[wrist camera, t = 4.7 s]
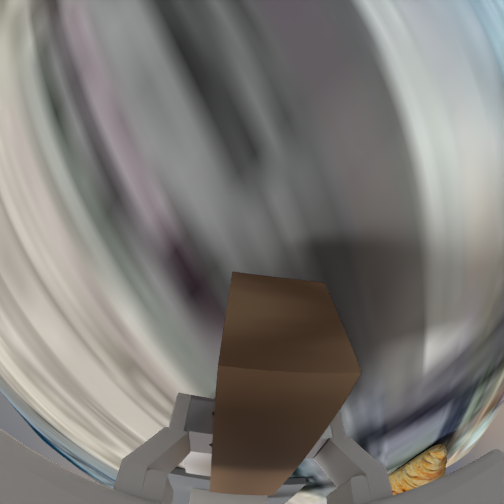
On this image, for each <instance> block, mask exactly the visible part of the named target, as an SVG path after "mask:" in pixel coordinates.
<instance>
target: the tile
mask: <svg viewBox="0 0 504 504" xmlns="http://www.w3.org/2000/svg"><path fill="white" fill-rule="evenodd" d="M189 504H268V495H238V494H225V493H215V492H210V491H209V490H202V489H196V488H191V493H190V500H189Z"/></svg>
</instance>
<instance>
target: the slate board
mask: <svg viewBox="0 0 504 504" xmlns="http://www.w3.org/2000/svg"><path fill="white" fill-rule="evenodd" d="M167 477H168V479H169V481H170V484H171V486H172V488H173V491H174V494H173V501H172V504H189V500H190V493H191V488H196V489H202V490H209V491H210V476H203V475H196V474H190V473H186V470H185V469H180V468H174V469H173V470H172V471H171V472H170V473H169V474H168V475H167ZM305 485H306V478H288V479H287V480H286V481H285V482H284V483H283V485H282V486H281V487H280V488H279V489H278V490H277V491H276V492H275V493H274V494H273V495H268V504H284V503H285V502H286V501H287V500H289V499H290V498H291V497H292V496H293V495H295V494H296V493H297V492H298V491H299V490H300V489H301V488H302V487H304V486H305Z"/></svg>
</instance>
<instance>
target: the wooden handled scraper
mask: <svg viewBox="0 0 504 504" xmlns="http://www.w3.org/2000/svg"><path fill="white" fill-rule="evenodd" d="M361 373H362V372H361V369H360V366H359V364H358V361H357V359H356V356H355V354H354V351H353V349H352V346H351V344H350V341H349V339H348V336H347V334H346V332H345V329H344V327H343V324H342V322H341V320H340V317H339V315H338V313H337V310H336V308H335V306H334V303H333V301H332V299H331V297H330V294H329V292H328V290H327V288H326V285H325V283H323V282H314V281H305V280H296V279H288V278H279V277H271V276H263V275H254V274H246V273H239V272H232V278H231V284H230V291H229V297H228V303H227V310H226V316H225V323H224V329H223V336H222V342H221V349H220V356H219V363H218V372H217V385H216V398H215V411H214V425H213V441H212V454H207V453H199V452H192V451H190V453H189V454H188V455H187V456H186V458H185V459H184V465H185V470H186V473H190V474H196V475H203V476H210V492H215V493H225V494H238V495H273V494H274V493H275V492H276V491H277V490H278V489H279V488H280V487H281V486H282V485H283V483H284V482H285V481H286V480H287V479H288V478H289V477H290V475H291V474H292V473H293V472H294V471H295V470H296V468H297V467H298V466H299V465H300V464H301V462H302V461H303V460H304V459H305V457H306V456H307V455H308V453H309V452H310V451H311V450H312V448H313V447H314V446H315V444H316V443H317V442H318V440H319V439H320V437H321V436H322V435H323V433H324V432H325V430H326V429H327V428H328V426H329V425H330V423H331V422H332V420H333V419H334V417H335V416H336V414H337V413H338V411H339V410H340V408H341V407H342V405H343V404H344V402H345V400H346V399H347V397H348V395H349V394H350V392H351V391H352V389H353V387H354V385H355V384H356V382H357V380H358V379H359V377H360V375H361Z"/></svg>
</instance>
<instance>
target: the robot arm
mask: <svg viewBox="0 0 504 504" xmlns="http://www.w3.org/2000/svg"><path fill="white" fill-rule="evenodd" d="M214 411H215V399H212V398H206V397H200V396H194V395H189V394H183V393H178V395H177V397H176V401H175V405H174V409H173V413H172V417H171V421H170V425H169V428H168V427H164V428H163V429H162V430H161V431H159V432H158V433H157V434H155V435H154V436H153V437H152V438H150V439H149V440H148V441H146V442H145V443H144V444H142V445H141V446H140V447H138V448H137V449H136V450H134V451H133V452H132V453H130V454H129V455H128V456H126V457H125V458H123V459H122V462H121V465H120V469H119V472H118V475H117V478H116V482H115V485H114V489H112V488H109V487H107V486H104V485H102V484H99V483H96V482H94V481H92V480H89V479H87V478H84V477H82V476H80V475H78V474H76V473H73V472H71V471H70V470H67V469H65V468H63V467H61V466H60V465H58V464H56V463H54V462H52V461H50V460H48V459H47V458H45V457H43V456H41V455H40V454H38V453H36V452H35V451H33V450H31V449H30V448H28V447H27V446H25V445H24V444H22V443H20V442H19V441H18V440H16V439H15V438H13V437H12V436H11V435H9V434H8V433H6V432H5V431H4V430H2V429H1V428H0V504H172V501H173V494H174V491H173V488H172V486H171V484H170V481H169V479H168V477H167V475H168V474H169V473H170V472H171V471H172V470H173V469H174V468H175V467H176V466H178V465H179V464H180V463H181V462H182V461H183V460H184V459H185V458H186V456H187V455H188V454H189V453H190V451H192V452H199V453H207V454H212V441H213V425H214ZM305 458H314V460H315V461H316V463H317V464H318V465H319V466H320V468H321V469H322V470H323V471H324V472H325V474H326V475H327V476H328V477H329V478H330V480H331V481H332V482H333V483H334V484H335V485H336V487H337V489H336V490H334V491H333V492H332V493H330V494H329V495H328V496H327V497H326V498H327V504H504V452H502V451H500V450H498V449H495V450H492V451H490V452H488V453H487V454H485V455H483V456H482V457H480V458H479V459H477V460H475V461H473V462H471V463H469V464H468V465H466V466H464V467H462V468H460V469H458V470H456V471H454V472H452V473H450V474H447V475H445V476H443V477H441V478H439V479H436V480H434V481H432V482H429V483H427V484H424V485H422V486H419V487H416V488H414V489H411V490H408V491H405V492H402V493H399V494H396V495H393V493H392V489H391V485H390V481H389V477H388V474H387V470H386V469H385V468H384V467H383V466H382V465H381V464H379V463H378V462H377V461H376V460H375V459H374V458H372V457H371V456H370V455H369V454H368V453H367V452H366V451H365V450H363V449H362V448H361V447H360V446H359V445H358V444H357V443H356V442H355V441H354V440H352V439H351V438H350V437H346V434H345V430H344V426H343V422H342V418H341V414H340V411H338V413H337V414H336V416H335V417H334V419H333V420H332V422H331V423H330V425H329V426H328V428H327V429H326V430H325V432H324V433H323V435H322V436H321V437H320V439H319V440H318V442H317V443H316V444H315V446H314V447H313V448H312V450H311V451H310V452H309V453H308V455H307V456H306V457H305Z"/></svg>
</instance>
